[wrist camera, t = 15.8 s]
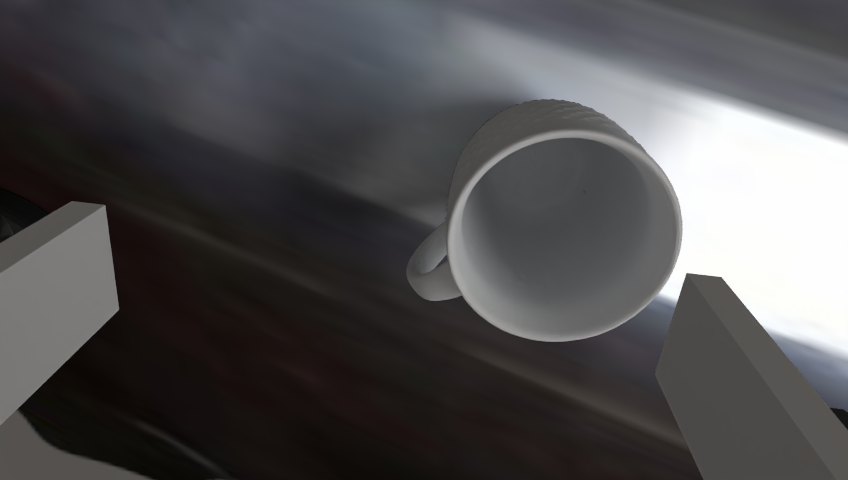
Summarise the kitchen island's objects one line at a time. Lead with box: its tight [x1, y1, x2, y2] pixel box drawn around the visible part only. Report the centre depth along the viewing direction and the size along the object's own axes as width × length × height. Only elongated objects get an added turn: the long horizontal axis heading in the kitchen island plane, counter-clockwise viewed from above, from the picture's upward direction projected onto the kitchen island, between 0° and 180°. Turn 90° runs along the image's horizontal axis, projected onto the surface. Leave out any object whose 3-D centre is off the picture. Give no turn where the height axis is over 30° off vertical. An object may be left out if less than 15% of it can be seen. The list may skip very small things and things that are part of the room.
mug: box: [407, 99, 682, 342], centre depth 34 cm, size 15×11×13 cm
